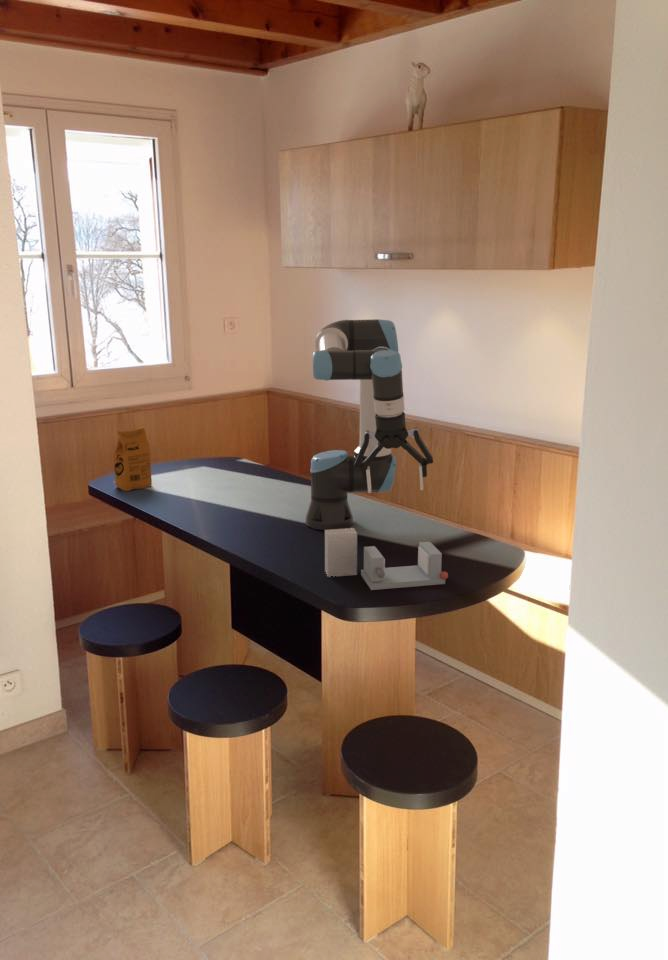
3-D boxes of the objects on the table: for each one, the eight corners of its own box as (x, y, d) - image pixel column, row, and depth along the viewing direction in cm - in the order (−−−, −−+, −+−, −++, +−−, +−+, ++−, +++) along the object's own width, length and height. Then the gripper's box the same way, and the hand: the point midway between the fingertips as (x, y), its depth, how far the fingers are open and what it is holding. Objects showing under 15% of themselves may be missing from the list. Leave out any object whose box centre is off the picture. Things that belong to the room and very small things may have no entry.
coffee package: (112, 487, 319) (108, 429, 313) (142, 481, 327) (139, 424, 321) (124, 492, 312) (120, 433, 306) (155, 486, 319) (151, 428, 314)
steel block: (324, 571, 233) (324, 529, 230) (353, 569, 235) (353, 528, 232) (327, 577, 229) (327, 534, 226) (356, 574, 231) (357, 532, 228)
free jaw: (363, 569, 230) (363, 546, 228) (376, 568, 230) (376, 545, 229) (376, 587, 217) (376, 563, 216) (389, 586, 218) (389, 562, 216)
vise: (360, 574, 231) (361, 545, 229) (433, 569, 235) (434, 540, 233) (372, 591, 219) (372, 561, 217) (448, 585, 223) (449, 555, 221)
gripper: (339, 421, 214) (347, 498, 222) (440, 414, 211) (444, 492, 219) (341, 411, 220) (349, 486, 229) (439, 404, 217) (443, 481, 226)
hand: (395, 489), depth 224 cm, fingers open, 13 cm apart
